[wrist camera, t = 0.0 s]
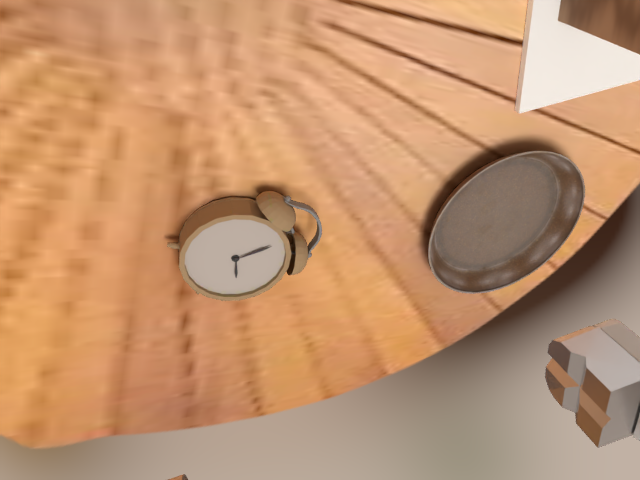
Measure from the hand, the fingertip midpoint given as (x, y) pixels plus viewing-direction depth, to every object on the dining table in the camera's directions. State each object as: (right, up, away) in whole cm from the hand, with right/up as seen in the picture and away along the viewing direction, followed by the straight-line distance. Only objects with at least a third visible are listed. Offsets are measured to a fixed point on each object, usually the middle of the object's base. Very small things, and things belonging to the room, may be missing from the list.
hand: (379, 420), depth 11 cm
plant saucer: (+20, +7, +55) cm, 59 cm away
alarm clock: (-9, +5, +45) cm, 46 cm away
